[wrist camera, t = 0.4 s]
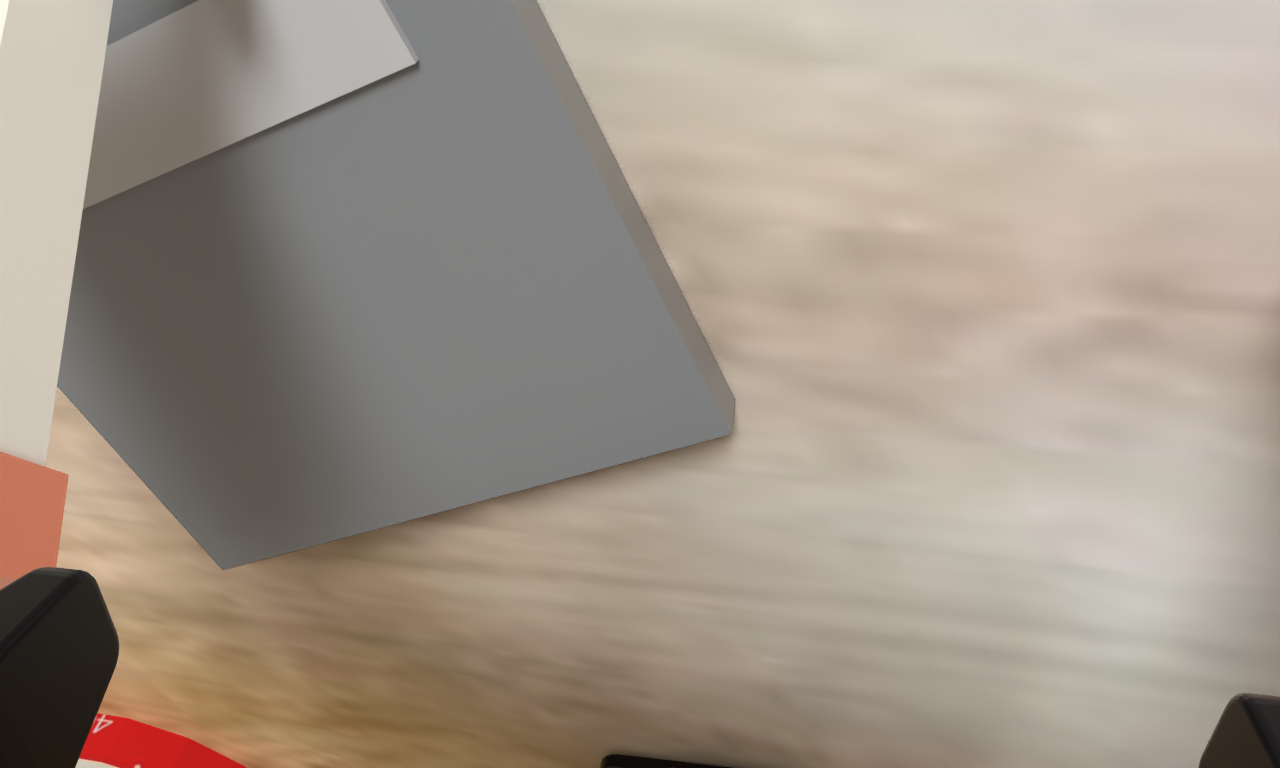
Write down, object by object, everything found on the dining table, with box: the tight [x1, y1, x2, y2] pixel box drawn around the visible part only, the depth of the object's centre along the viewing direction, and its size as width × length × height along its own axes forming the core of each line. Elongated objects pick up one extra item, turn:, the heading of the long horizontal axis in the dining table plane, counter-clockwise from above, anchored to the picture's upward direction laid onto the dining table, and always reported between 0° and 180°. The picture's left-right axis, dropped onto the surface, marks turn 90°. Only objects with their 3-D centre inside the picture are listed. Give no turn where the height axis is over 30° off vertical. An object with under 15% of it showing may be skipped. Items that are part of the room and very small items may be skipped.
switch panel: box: [57, 0, 735, 570], centre depth 21 cm, size 18×14×4 cm
